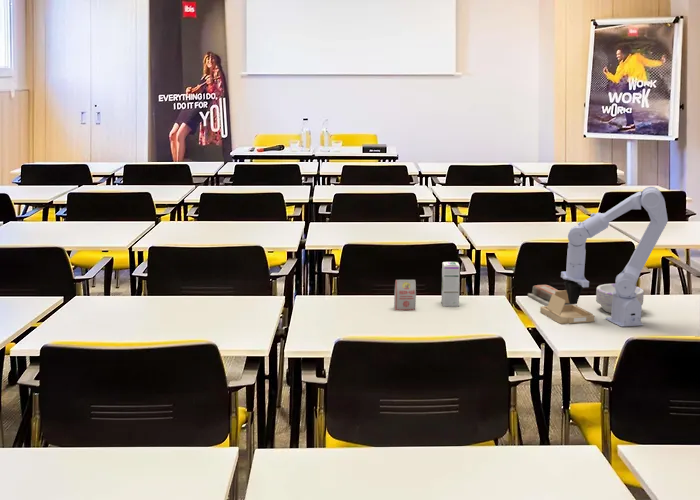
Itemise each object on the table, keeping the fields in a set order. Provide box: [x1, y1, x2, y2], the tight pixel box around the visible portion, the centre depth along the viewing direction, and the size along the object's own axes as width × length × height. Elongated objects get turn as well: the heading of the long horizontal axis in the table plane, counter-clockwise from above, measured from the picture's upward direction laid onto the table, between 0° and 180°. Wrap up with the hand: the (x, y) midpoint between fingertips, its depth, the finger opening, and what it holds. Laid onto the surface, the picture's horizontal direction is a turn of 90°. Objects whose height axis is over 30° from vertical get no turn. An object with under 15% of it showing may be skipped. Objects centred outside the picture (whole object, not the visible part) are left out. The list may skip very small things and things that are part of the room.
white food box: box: [393, 279, 417, 311], centre depth 285 cm, size 4×7×10 cm, turn 93°
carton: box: [539, 305, 596, 325], centre depth 278 cm, size 15×12×2 cm
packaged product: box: [527, 284, 578, 306], centre depth 297 cm, size 18×5×10 cm
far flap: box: [555, 289, 569, 303], centre depth 283 cm, size 1×6×5 cm, turn 105°
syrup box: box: [441, 261, 461, 307], centre depth 291 cm, size 6×6×14 cm
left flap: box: [547, 294, 566, 315], centre depth 274 cm, size 8×1×5 cm, turn 15°
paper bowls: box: [595, 283, 645, 314], centre depth 285 cm, size 15×15×8 cm
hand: (572, 303), depth 277 cm, fingers closed
